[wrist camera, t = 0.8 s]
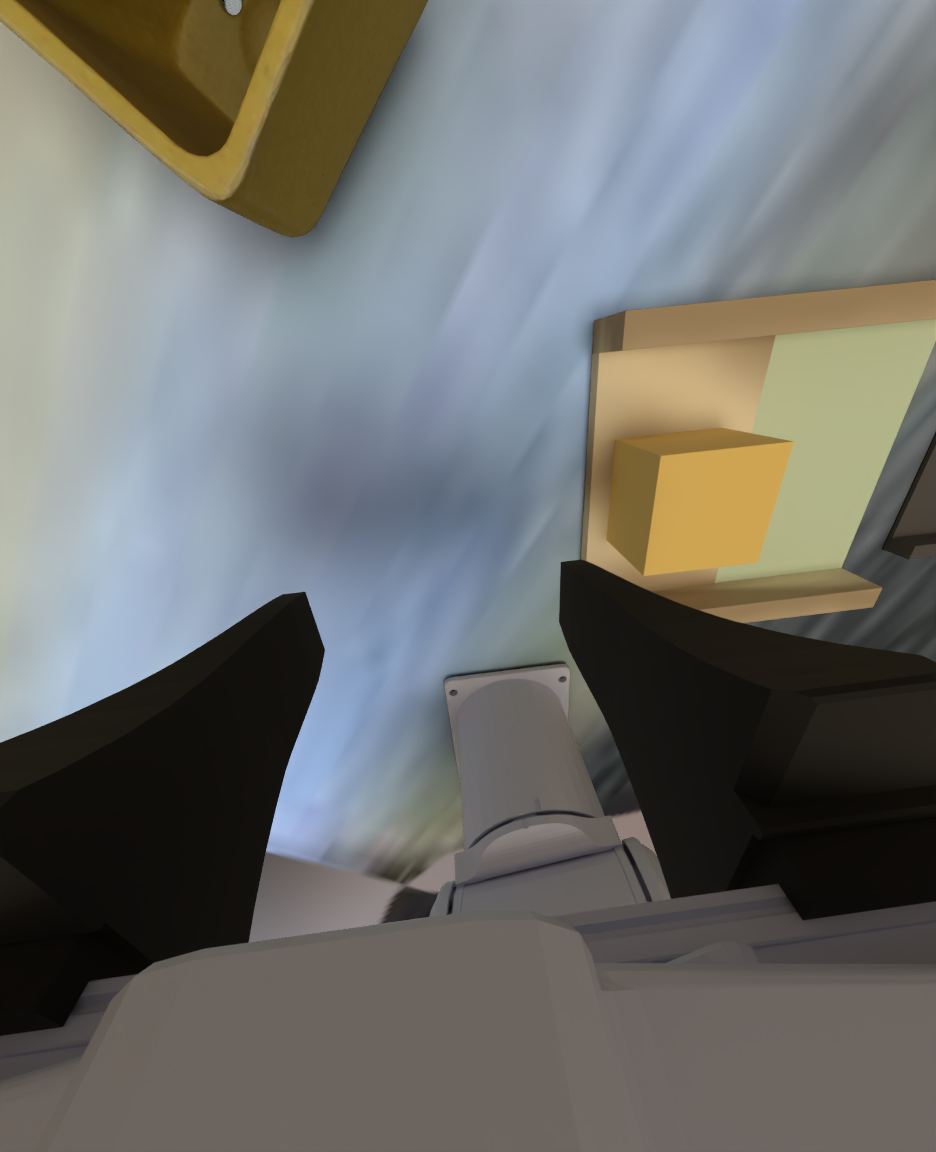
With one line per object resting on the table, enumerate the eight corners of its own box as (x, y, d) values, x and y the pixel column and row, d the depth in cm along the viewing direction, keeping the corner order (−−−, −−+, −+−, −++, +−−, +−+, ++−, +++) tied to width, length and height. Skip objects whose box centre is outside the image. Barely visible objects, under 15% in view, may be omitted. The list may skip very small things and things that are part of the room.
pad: (829, 562, 23) (841, 567, 22) (705, 577, 22) (713, 583, 22) (926, 319, 17) (945, 317, 16) (761, 336, 17) (773, 335, 16)
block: (700, 529, 20) (757, 562, 17) (606, 540, 20) (643, 576, 16) (722, 427, 18) (793, 441, 14) (615, 439, 18) (660, 455, 14)
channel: (823, 580, 23) (873, 607, 21) (578, 609, 23) (597, 640, 20) (940, 286, 16) (1037, 269, 14) (594, 320, 16) (625, 310, 13)
